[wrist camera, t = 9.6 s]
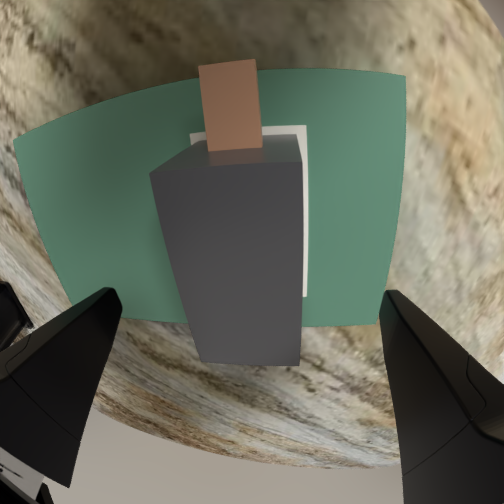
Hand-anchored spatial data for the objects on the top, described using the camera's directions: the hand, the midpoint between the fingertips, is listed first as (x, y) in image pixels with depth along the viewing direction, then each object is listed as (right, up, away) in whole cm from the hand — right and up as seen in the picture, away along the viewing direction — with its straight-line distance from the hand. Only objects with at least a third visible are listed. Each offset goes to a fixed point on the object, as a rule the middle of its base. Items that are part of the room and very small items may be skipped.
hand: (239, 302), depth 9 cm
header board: (-3, +4, +7) cm, 8 cm away
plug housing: (0, +4, +4) cm, 6 cm away
